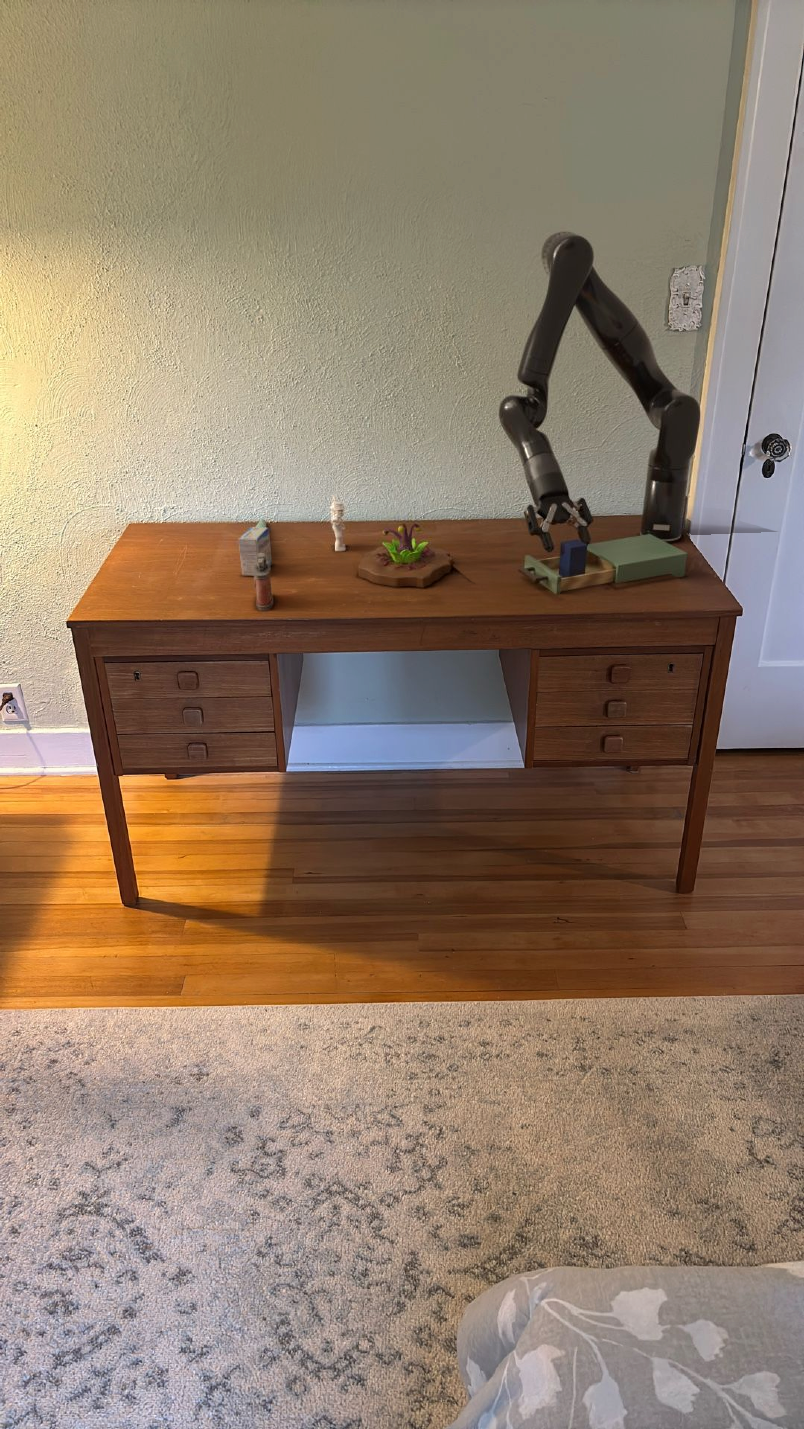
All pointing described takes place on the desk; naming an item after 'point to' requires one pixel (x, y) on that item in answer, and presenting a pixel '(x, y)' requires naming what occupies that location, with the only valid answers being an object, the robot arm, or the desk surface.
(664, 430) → the robot arm
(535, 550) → the desk surface
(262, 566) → the lighter
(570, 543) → the tea box
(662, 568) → the box
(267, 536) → the medicine box
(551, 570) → the tray
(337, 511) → the hat wearing toy figure
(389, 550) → the plant
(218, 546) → the desk surface
